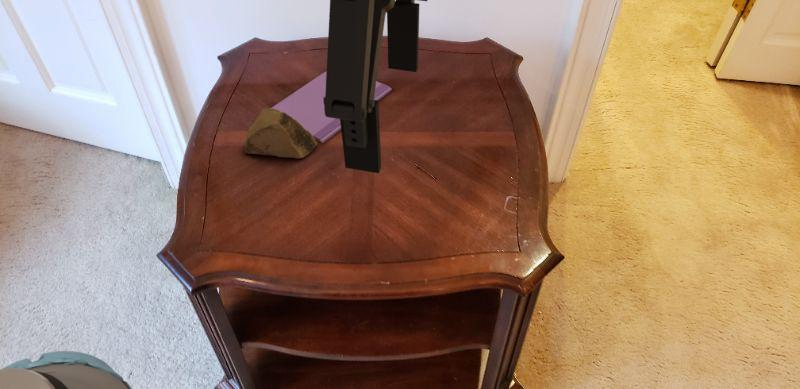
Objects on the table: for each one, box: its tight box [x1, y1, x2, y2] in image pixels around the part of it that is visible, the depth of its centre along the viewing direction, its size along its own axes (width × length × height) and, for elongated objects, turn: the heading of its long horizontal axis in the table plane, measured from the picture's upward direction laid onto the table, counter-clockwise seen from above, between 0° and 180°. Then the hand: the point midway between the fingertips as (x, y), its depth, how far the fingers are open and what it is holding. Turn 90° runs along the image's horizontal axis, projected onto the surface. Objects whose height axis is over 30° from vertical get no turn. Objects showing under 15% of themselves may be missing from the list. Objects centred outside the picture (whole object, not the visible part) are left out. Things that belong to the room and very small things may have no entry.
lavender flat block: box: [271, 70, 393, 144], centre depth 98 cm, size 18×13×1 cm
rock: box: [243, 107, 318, 159], centre depth 87 cm, size 11×9×10 cm
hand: (385, 113), depth 48 cm, fingers open, 13 cm apart
